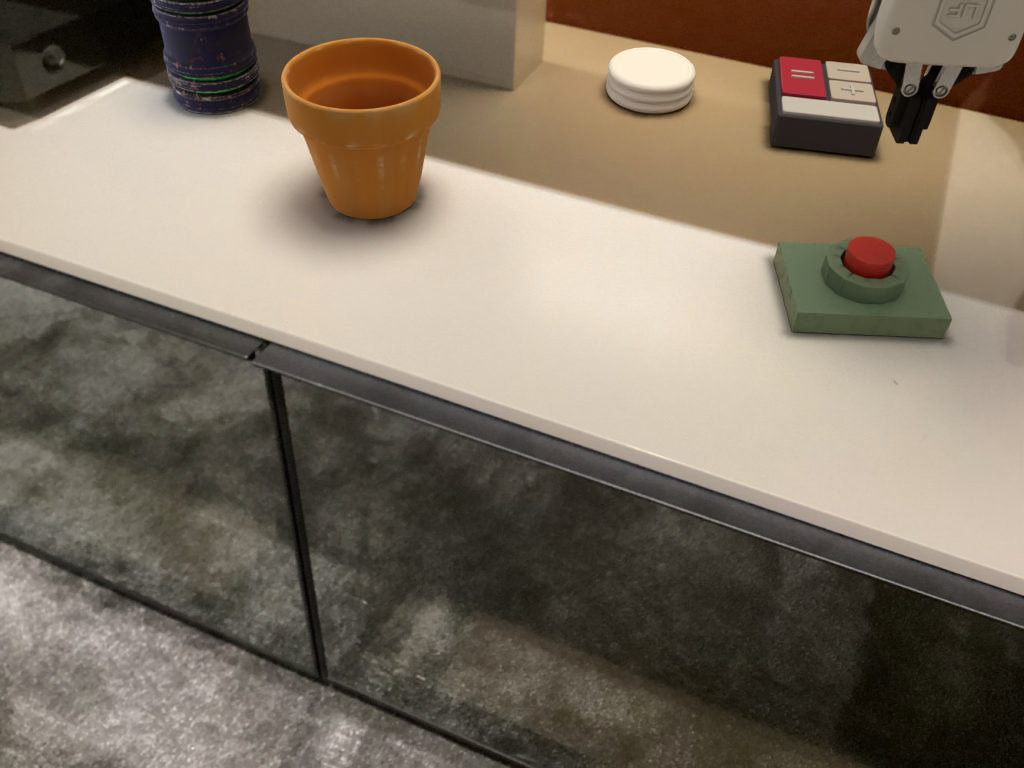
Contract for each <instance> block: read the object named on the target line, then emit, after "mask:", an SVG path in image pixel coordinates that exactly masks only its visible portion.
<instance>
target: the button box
mask: <svg viewBox="0 0 1024 768" xmlns="http://www.w3.org/2000/svg"><path fill="white" fill-rule="evenodd" d="M852 239H853V238H845V239H843V240H840V241H838V242H834V243H819V242H818V243H816V242H798V241H797V242H795V241H794V242H793V241H778V242H777V246H776V249H775V254H774V257H773V264H774V268H775V271H776V275H777V279H778V283H779V286H780V291H781V294H782V299H783V302H784V305H785V309H786V313H787V317H788V321H789V326H790V329H791V332H793V333H815V334H835V335H836V334H838V335H857V336H858V335H860V336H861V335H863V336H884V337H885V336H886V337H907V338H909V337H910V338H930V339H931V338H933V339H945V336H946V334H947V333H948V330H949V327H950V325H951V323H952V321H953V317H952V315H951V312H950V311H949V308H948V306H947V304H946V301H945V299H944V297H943V295H942V293H941V291H940V288H939V286H938V284H937V281H936V279H935V277H934V275H933V272H932V271H931V268H930V266H929V263H928V262H927V259H926V257H925V255H924V253H923V250H922V248H921V247H915V246H914V247H912V246H892V247H893V248H894V249H895V251H896V258H895V261H894V263H893V266H892V268H891V271H890V273H889V275H888V276H887V277H885V278H883V279H867V278H864V277H861V276H858V275H855V274H853V273H851V272H850V271H849V270H848V269H847V268H845V267H844V264H843V259H844V256H845V253H846V250H847V247H848V244H849V242H850V241H851V240H852Z"/></svg>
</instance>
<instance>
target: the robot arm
mask: <svg viewBox="0 0 1024 768" xmlns="http://www.w3.org/2000/svg"><path fill="white" fill-rule="evenodd" d="M865 29H866V33H865V35H864V37H863V38H862V39H861V42H860V44H859V46H858V47H857V49H856V56H857V58H858V60H859V62H860V64H861V65H866V66H867V67H871V68H874V69H877V70H883V71H886V72H887V73H888V75H889V76H890V78H891V79H892V80H893V82H894V83H895V86H894V90H893V93H892V96H891V99H890V102H889V105H888V107H887V111H886V113H885V119H884V120H885V126H886V128H888V129H889V131H890V133H891V135H892V138H893V140H894V142H895V144H901V145H902V144H905V143H908V144H909V145H918V144H919V142H920V139H921V137H922V134H923V131H927V130H928V129H929V127H930V124H931V122H932V120H933V117H934V113H935V111H936V108H937V106H938V103H939V101H940V100H941V99H943V98H945V97H946V96H948V94H950V91H951V90H952V88H953V87H955V86H957V85H959V84H960V83H961V82H963V81H964V80H966V79H967V78H969V77H971V76H972V75H982V74H988V73H994V72H998V71H1001V69H1002V68H1003V67H1004V65H1005V64H1006V63H1008V62H1009V61H1011V59H1012V58H1013V57H1014V56H1015V54H1016V52H1017V50H1018V48H1019V45H1020V43H1021V41H1022V38H1023V36H1024V0H871V4H870V6H869V10H868V13H867V18H866V23H865ZM924 65H927V67H926V69H925V72H924V74H923V76H922V72H923V66H924Z"/></svg>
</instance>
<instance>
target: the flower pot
mask: <svg viewBox="0 0 1024 768" xmlns="http://www.w3.org/2000/svg"><path fill="white" fill-rule="evenodd" d="M441 78H442V73H441V68H440V66H439V64H438V62H437V60H436V59H435V58H434V57H433V56H432V55H431V54H430V53H428V52H427V51H425V50H423V49H422V48H420V47H418V46H416V45H414V44H411V43H407V42H404V41H400V40H395V39H389V38H382V37H352V38H344V39H337V40H332V41H328V42H324V43H321V44H318V45H314V46H311V47H309V48H307V49H305V50H303V51H301V52H299V53H298V54H296V55H295V56H293V57H292V58H291V59H290V60H289V61H288V62H287V63H286V64H285V66H284V68H283V70H282V72H281V76H280V81H281V82H280V83H281V88H282V93H283V99H284V104H285V109H286V114H287V117H288V120H289V122H290V124H291V125H292V127H293V128H294V129H295V130H296V131H297V133H299V134H300V135H301V136H303V138H304V141H305V143H306V147H307V149H308V151H309V154H310V157H311V159H312V163H313V164H314V167H315V170H316V173H317V176H318V178H319V180H320V183H321V185H322V187H323V189H324V190H323V191H324V193H325V195H326V197H327V199H328V202H329V203H330V205H331V206H332V208H334V209H335V210H336V211H337V212H338V213H340V214H343V215H345V216H348V217H351V218H353V219H354V218H355V219H361V220H379V219H385V218H386V219H387V218H389V217H393V216H396V215H398V214H401V213H402V212H403V211H405V210H406V209H409V208H411V206H412V205H413V204H414V203H415V202H416V199H417V197H418V195H419V190H420V189H419V188H420V184H421V179H422V173H423V169H424V164H425V157H426V152H427V146H428V140H429V134H430V128H431V127H432V126H433V125H434V124H435V123H436V122H437V120H438V118H439V115H440V112H441V104H442V79H441Z"/></svg>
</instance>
